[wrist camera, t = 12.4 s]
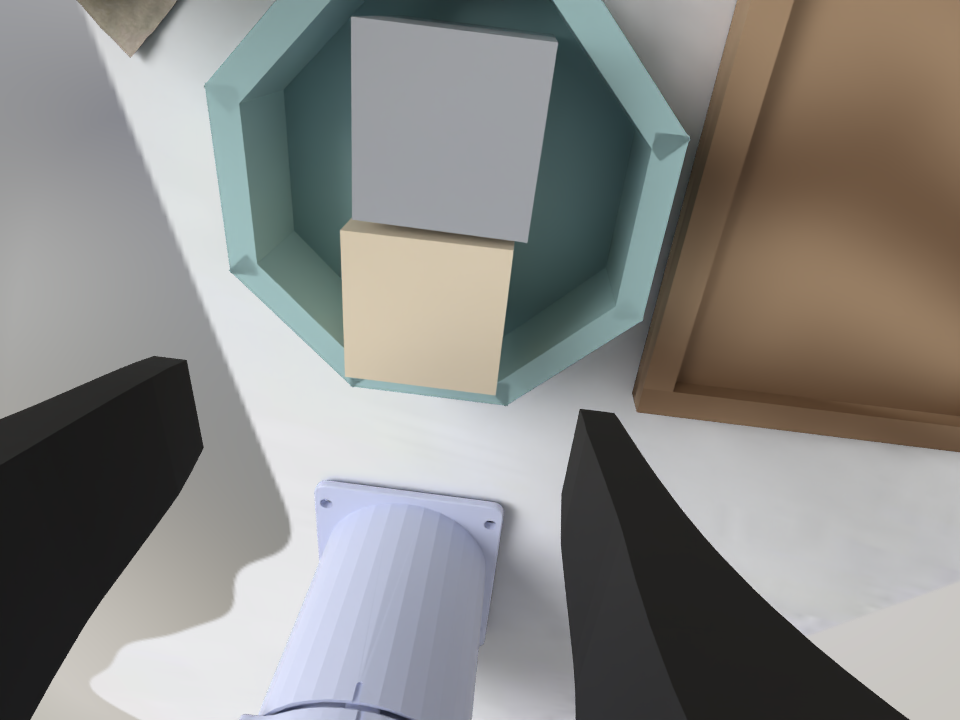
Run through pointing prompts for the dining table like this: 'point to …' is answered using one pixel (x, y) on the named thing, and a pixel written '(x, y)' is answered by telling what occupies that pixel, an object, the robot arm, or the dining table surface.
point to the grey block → (448, 124)
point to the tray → (821, 230)
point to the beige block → (423, 306)
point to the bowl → (557, 202)
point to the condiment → (128, 19)
